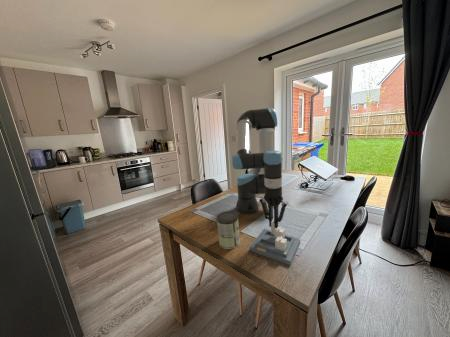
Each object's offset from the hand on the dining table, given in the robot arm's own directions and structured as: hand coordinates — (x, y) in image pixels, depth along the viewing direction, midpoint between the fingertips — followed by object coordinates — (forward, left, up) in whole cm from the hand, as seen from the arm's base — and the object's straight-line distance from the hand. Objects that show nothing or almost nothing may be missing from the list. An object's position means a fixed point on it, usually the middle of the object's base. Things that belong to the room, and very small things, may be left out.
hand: (273, 233), depth 86 cm
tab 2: (+6, -7, -3) cm, 9 cm away
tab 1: (+3, 0, -3) cm, 4 cm away
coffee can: (-19, -11, -5) cm, 22 cm away
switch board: (+2, -3, -5) cm, 6 cm away
